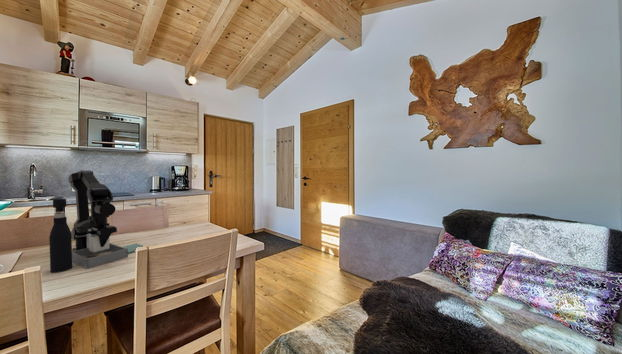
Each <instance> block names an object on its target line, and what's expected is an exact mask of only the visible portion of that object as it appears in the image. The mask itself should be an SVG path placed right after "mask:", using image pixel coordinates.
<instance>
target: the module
mask: <svg viewBox="0 0 622 354" xmlns="http://www.w3.org/2000/svg"><path fill="white" fill-rule="evenodd" d="M109 243H110V237H109V238H108V240H107V242H106V244H105V246H104V247H101V246H100V241H99V237H98V236H97V235H91V236H89V251H91V252H97V251H101V250H105V249H109Z"/></svg>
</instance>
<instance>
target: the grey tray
mask: <svg viewBox="0 0 622 354" xmlns="http://www.w3.org/2000/svg"><path fill="white" fill-rule="evenodd" d="M107 252H109V253H107ZM102 253H105V254H102ZM100 254H102V255H100ZM94 255H98V256H94ZM90 256H91V257H90ZM92 256H94V257H92ZM128 256H129V254H128V249H127V248H124V246H121V245H117V244H115V243H111V242H109V249H105V250H101V251H97V252H91V251H89V248H85V249H81V250H77V251H76V250H72V263H74V264H77V265H78V266H81V267H83V268H85V269H87V270H88V269H92V268H94V267H95V268H96V267H98V266H102V265H105V264H107V263H112V262H115V261H118V260H122V259H125V258H128ZM87 257H90V258H87Z"/></svg>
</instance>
